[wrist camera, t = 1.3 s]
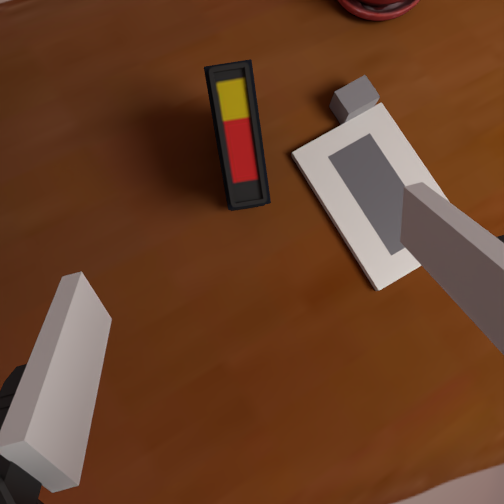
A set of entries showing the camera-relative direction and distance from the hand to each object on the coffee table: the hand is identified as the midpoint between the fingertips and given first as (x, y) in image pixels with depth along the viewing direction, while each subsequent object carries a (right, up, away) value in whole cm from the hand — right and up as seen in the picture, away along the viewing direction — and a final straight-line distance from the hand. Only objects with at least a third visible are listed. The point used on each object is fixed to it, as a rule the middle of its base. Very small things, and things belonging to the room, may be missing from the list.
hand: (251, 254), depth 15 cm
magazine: (-1, +9, +27) cm, 28 cm away
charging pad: (+14, +8, +26) cm, 31 cm away
